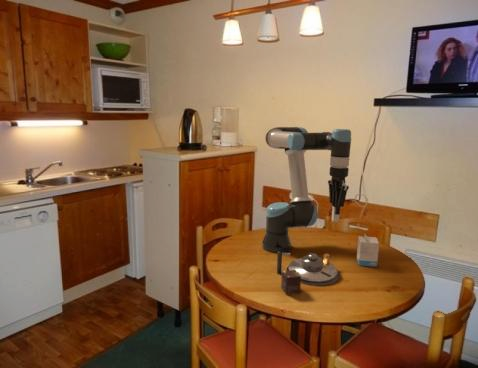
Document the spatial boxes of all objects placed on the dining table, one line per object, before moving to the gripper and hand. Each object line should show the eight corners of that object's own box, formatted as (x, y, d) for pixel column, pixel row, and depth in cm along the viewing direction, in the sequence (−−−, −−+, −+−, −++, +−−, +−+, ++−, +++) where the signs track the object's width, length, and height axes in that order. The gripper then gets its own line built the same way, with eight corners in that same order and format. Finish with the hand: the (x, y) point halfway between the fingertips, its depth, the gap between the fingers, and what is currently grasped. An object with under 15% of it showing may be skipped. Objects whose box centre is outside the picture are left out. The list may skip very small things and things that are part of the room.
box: (300, 293, 136) (301, 276, 135) (285, 295, 135) (286, 277, 133) (294, 286, 142) (295, 269, 140) (280, 287, 141) (281, 270, 139)
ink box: (377, 267, 160) (380, 239, 157) (358, 265, 162) (360, 238, 159) (374, 259, 168) (376, 233, 166) (356, 258, 170) (358, 232, 167)
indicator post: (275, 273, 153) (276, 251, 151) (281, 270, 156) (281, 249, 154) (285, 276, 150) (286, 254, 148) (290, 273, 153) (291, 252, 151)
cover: (304, 272, 148) (305, 259, 147) (299, 263, 157) (300, 251, 156) (324, 272, 149) (325, 259, 148) (319, 263, 158) (320, 250, 156)
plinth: (276, 273, 152) (276, 272, 152) (303, 257, 169) (303, 257, 169) (323, 291, 138) (323, 290, 138) (348, 272, 155) (348, 271, 155)
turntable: (295, 283, 142) (295, 270, 141) (284, 262, 163) (284, 250, 162) (344, 282, 144) (345, 269, 143) (327, 260, 165) (328, 249, 163)
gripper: (356, 168, 138) (351, 225, 143) (339, 164, 151) (335, 215, 156) (339, 169, 137) (335, 226, 142) (323, 164, 149) (320, 217, 154)
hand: (335, 220), depth 149 cm, fingers closed
